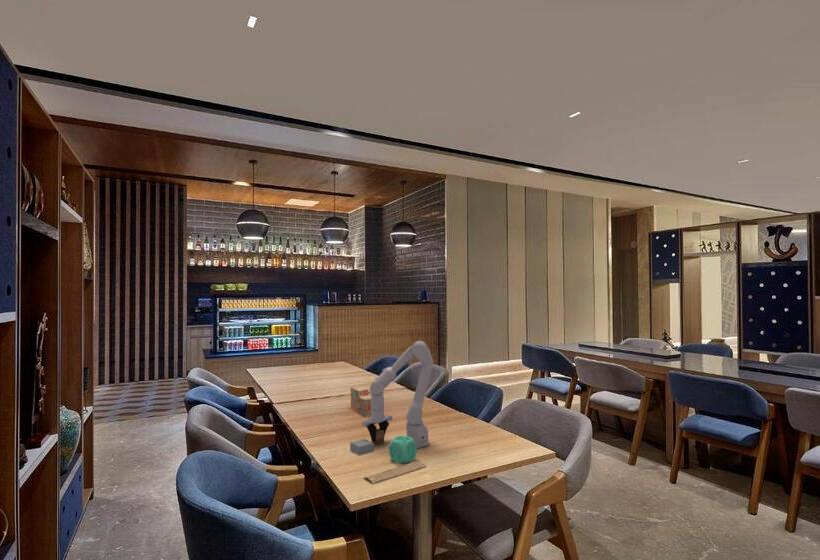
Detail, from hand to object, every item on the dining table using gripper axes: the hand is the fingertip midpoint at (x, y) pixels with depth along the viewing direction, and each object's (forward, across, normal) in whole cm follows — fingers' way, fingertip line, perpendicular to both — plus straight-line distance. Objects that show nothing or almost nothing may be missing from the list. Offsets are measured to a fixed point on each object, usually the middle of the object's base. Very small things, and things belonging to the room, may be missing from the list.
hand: (377, 439), depth 186 cm
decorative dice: (+2, +3, +22) cm, 22 cm away
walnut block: (+1, 0, 0) cm, 1 cm away
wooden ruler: (+2, +12, +30) cm, 32 cm away
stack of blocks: (+2, -22, -48) cm, 53 cm away
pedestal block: (+2, +10, +3) cm, 11 cm away
